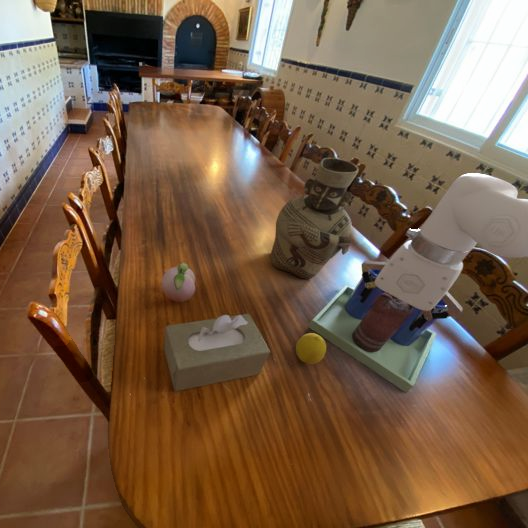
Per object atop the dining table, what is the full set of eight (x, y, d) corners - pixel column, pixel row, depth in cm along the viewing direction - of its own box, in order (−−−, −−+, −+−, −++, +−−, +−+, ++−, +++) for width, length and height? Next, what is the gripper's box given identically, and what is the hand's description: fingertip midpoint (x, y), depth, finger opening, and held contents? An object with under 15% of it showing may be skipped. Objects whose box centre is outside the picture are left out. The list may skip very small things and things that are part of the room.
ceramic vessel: (300, 293, 80) (349, 191, 61) (253, 249, 94) (280, 155, 75) (347, 276, 88) (405, 180, 68) (297, 237, 102) (332, 149, 82)
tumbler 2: (414, 338, 71) (453, 297, 62) (407, 352, 68) (447, 311, 59) (388, 322, 74) (421, 282, 65) (379, 335, 71) (413, 294, 62)
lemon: (291, 367, 63) (304, 344, 58) (290, 345, 67) (302, 323, 62) (318, 374, 62) (334, 352, 57) (315, 352, 66) (330, 329, 61)
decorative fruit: (162, 284, 79) (164, 254, 73) (192, 286, 79) (197, 257, 73) (159, 310, 72) (160, 280, 66) (192, 313, 72) (197, 283, 66)
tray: (430, 340, 71) (437, 333, 69) (406, 392, 60) (413, 386, 58) (342, 290, 82) (346, 283, 81) (308, 326, 72) (312, 320, 70)
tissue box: (172, 392, 57) (178, 343, 47) (162, 349, 64) (165, 298, 54) (261, 374, 61) (284, 325, 51) (242, 335, 68) (259, 286, 58)
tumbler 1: (371, 313, 76) (401, 273, 68) (363, 325, 73) (393, 284, 64) (348, 300, 80) (374, 259, 71) (339, 311, 76) (365, 270, 67)
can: (351, 326, 72) (380, 285, 63) (380, 338, 69) (415, 297, 60) (348, 344, 68) (379, 302, 59) (378, 358, 65) (416, 316, 56)
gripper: (378, 232, 54) (339, 297, 65) (498, 283, 45) (428, 349, 55) (391, 219, 58) (352, 283, 69) (504, 263, 49) (438, 329, 60)
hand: (386, 312), depth 62 cm, fingers open, 9 cm apart
